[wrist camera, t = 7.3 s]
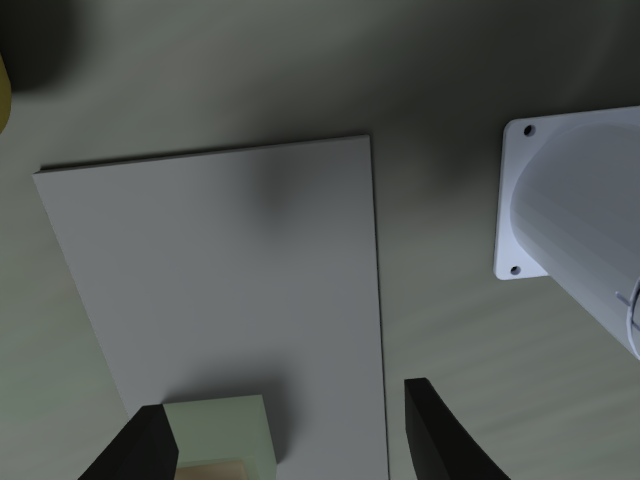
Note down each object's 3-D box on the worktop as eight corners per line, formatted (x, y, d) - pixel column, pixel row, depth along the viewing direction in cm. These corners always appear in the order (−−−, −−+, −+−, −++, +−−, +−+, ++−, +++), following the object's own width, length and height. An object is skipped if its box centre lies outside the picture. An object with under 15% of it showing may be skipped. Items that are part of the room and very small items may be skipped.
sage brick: (261, 394, 25) (253, 455, 21) (277, 465, 27) (272, 530, 23) (159, 404, 25) (133, 467, 21) (183, 474, 27) (164, 540, 24)
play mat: (367, 134, 19) (369, 137, 19) (387, 487, 29) (389, 496, 29) (39, 170, 19) (31, 174, 19) (171, 508, 29) (168, 516, 29)
